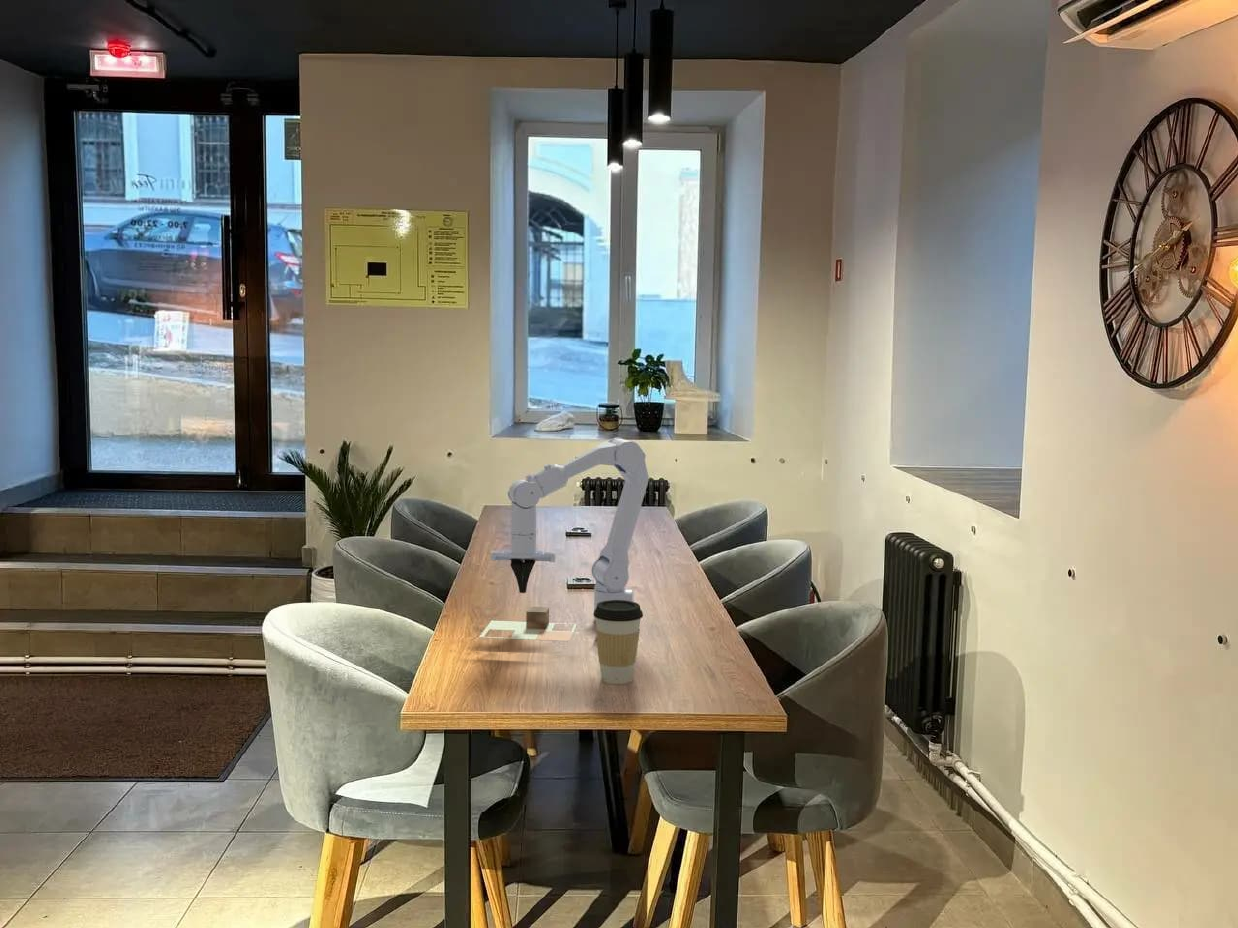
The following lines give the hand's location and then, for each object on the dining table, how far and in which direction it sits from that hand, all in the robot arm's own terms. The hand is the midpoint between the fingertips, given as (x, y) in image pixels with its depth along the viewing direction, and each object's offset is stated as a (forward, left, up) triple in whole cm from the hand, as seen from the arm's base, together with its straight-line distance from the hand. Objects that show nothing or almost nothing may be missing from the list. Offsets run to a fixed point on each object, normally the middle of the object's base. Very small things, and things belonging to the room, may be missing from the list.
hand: (522, 591), depth 241 cm
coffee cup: (-24, +31, -10) cm, 40 cm away
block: (-3, 0, -8) cm, 9 cm away
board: (-2, +4, -9) cm, 10 cm away
